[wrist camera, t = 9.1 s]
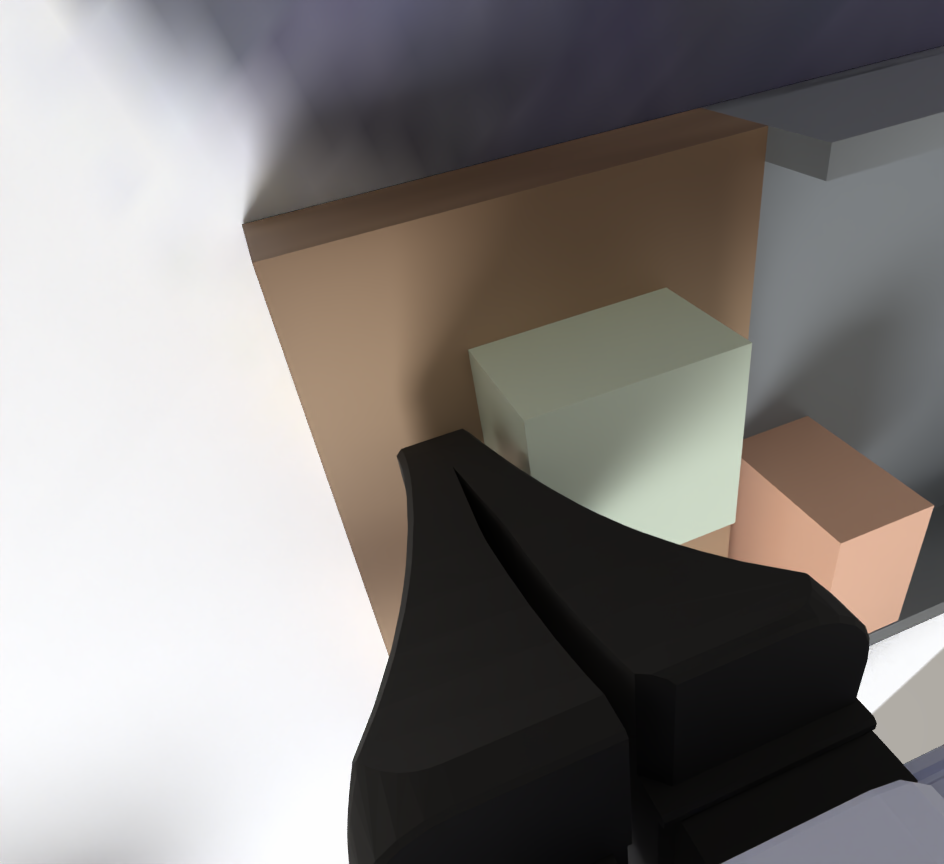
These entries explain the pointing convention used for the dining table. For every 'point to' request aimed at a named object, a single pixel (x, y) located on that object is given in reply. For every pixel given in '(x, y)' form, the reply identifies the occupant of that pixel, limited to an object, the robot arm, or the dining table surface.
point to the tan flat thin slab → (491, 291)
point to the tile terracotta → (829, 518)
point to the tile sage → (624, 412)
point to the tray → (857, 278)
